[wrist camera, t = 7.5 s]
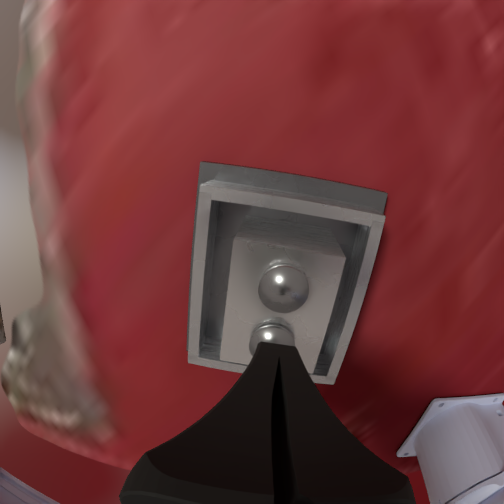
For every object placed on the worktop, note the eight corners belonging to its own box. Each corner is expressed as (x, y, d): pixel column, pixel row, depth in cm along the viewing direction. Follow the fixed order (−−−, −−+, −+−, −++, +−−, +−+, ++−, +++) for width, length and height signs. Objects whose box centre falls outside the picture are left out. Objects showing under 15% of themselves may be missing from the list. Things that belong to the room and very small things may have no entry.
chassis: (384, 191, 16) (402, 200, 13) (334, 367, 20) (339, 395, 17) (203, 161, 17) (188, 164, 14) (188, 345, 21) (177, 371, 18)
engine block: (330, 228, 16) (348, 262, 12) (307, 325, 18) (313, 380, 14) (246, 214, 17) (231, 243, 12) (233, 313, 19) (217, 366, 14)
